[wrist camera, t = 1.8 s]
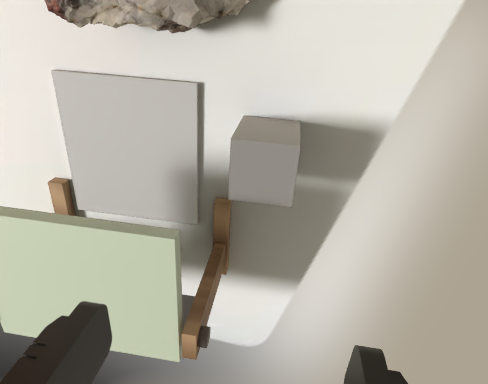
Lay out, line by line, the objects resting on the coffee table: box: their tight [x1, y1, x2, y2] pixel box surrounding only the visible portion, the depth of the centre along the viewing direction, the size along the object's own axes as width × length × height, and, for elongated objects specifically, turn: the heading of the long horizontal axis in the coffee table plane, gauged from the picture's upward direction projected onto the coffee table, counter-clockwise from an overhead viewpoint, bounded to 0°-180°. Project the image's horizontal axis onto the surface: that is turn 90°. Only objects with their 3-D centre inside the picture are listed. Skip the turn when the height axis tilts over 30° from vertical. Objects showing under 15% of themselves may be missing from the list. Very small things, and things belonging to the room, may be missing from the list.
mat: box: [51, 70, 198, 225], centre depth 30 cm, size 13×12×1 cm
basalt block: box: [228, 116, 301, 207], centre depth 25 cm, size 4×4×6 cm
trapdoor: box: [0, 206, 195, 362], centre depth 25 cm, size 12×14×5 cm
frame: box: [48, 178, 231, 360], centre depth 28 cm, size 8×18×12 cm, turn 86°
